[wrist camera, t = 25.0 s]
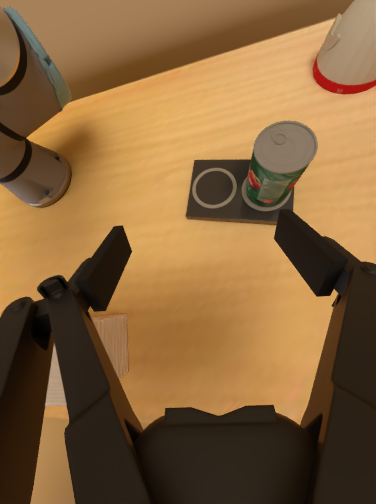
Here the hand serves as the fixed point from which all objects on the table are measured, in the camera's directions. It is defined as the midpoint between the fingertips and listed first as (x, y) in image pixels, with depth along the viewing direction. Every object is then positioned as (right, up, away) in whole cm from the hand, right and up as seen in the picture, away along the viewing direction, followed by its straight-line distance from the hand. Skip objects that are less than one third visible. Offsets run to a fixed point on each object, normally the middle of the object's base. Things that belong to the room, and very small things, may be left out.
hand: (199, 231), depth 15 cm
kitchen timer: (+33, +37, +22) cm, 55 cm away
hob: (+9, +11, +22) cm, 26 cm away
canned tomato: (+14, +10, +19) cm, 26 cm away
